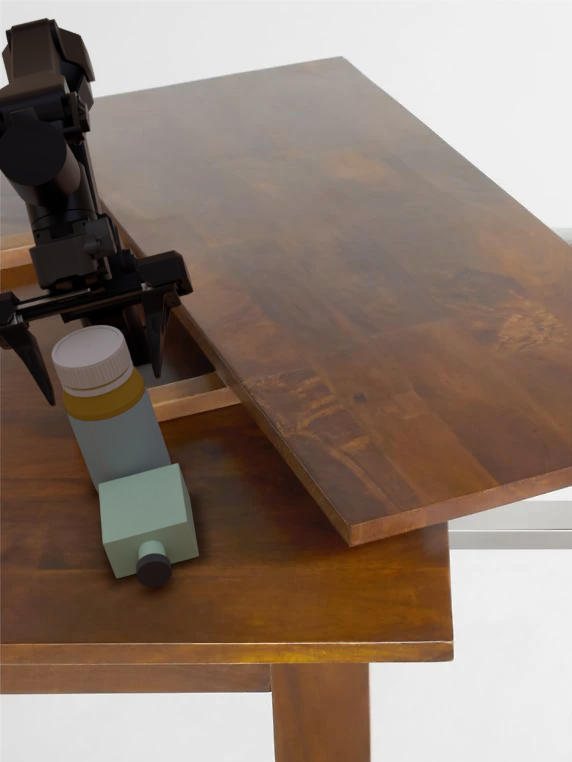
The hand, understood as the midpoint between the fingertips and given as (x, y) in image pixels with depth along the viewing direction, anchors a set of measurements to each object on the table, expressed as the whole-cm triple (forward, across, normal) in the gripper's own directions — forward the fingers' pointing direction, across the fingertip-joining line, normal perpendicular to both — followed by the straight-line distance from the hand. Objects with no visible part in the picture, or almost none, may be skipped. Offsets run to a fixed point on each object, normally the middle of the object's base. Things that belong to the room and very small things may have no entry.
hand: (105, 391), depth 119 cm
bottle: (+8, 0, +6) cm, 10 cm away
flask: (+14, +1, -1) cm, 14 cm away
